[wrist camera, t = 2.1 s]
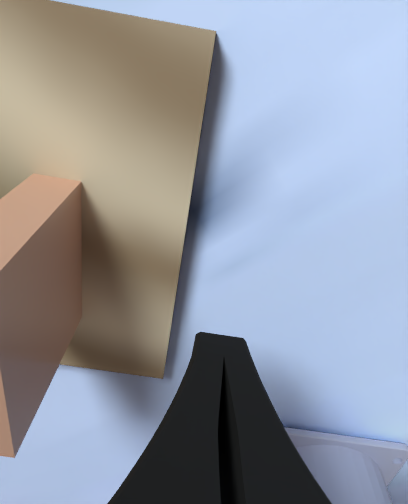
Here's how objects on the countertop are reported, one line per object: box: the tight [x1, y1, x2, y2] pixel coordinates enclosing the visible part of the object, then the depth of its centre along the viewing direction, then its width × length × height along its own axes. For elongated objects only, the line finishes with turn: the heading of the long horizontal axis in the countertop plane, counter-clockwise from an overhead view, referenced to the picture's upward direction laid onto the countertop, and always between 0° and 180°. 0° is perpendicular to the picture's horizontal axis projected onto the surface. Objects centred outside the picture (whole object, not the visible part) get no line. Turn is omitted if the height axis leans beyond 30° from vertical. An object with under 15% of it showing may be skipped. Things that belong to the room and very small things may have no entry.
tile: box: [0, 173, 82, 458], centre depth 12 cm, size 6×2×6 cm, turn 171°
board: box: [0, 0, 216, 379], centre depth 14 cm, size 14×13×1 cm
